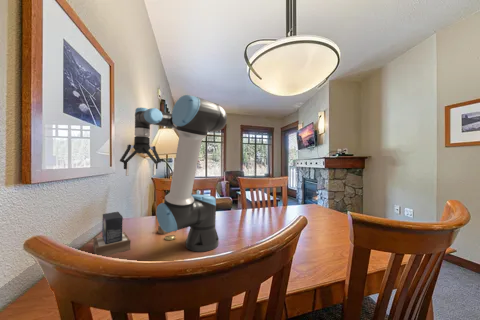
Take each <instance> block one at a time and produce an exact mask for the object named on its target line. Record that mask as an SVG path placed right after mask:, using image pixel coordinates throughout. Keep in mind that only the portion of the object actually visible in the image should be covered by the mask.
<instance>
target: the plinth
mask: <svg viewBox="0 0 480 320" xmlns="http://www.w3.org/2000/svg"><path fill="white" fill-rule="evenodd" d="M131 241H132V240H131V239H130V237H129V236H128V235H127V233H126V232H122V241H119V242H114V243H110V244H105V242H104V239H103V237H102V236H100V237H95V238H93V241H92V242H93V244H92V245H93V246H92V248H93V253H94V255H95V254H97V255H102V256H104V257H107V256H110V255H115V254H118V253H122V252H126V251H130V250H131Z"/></svg>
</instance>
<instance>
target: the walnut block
mask: <svg viewBox="0 0 480 320" xmlns="http://www.w3.org/2000/svg"><path fill="white" fill-rule="evenodd" d="M157 226H158V227H157V233H158V234H161V235H164V236H166V235H168V234H170V233H171V232H165V231H163V230H162V229H161V227H160V225H159V224H158V225H157Z"/></svg>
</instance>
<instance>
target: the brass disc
mask: <svg viewBox="0 0 480 320" xmlns="http://www.w3.org/2000/svg"><path fill="white" fill-rule="evenodd" d="M176 236H177V235H176V234H175V235H174V234H172V235H171V234H169V235H165V237H164V240H165V241H172V240H175V239H176Z"/></svg>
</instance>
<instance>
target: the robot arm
mask: <svg viewBox="0 0 480 320" xmlns="http://www.w3.org/2000/svg"><path fill="white" fill-rule="evenodd" d="M227 121H228V116H227V112H226V110H225V108H224V107H222V106H221V105H220V104H219V103H215V102H212V101H209V100H206V99H204V98H201V97H198V96H196V95H195V96H193V95H190V94H185V95H181V96H180V97H179V98H178V99H177V100H176V102H175V103H174V105H173V109H172V112H171V113H169V112H165V111H161V110H159V109H158V108H156V107H151V108H146V107H137V108H135V110H134V142H133V145H132V144H130V143H129V144H127V146H126V150H124V153H123V154H122V156H121V157H120V159H119V162H121V163H123V169H124V170H125V176H129V170H130V166H129V165H130V163H129V161H131V159H132V158H133V157H135V155H137V154H142V155H143V154H146V155H147V156H148V157H149V158H150V159H151V161H152V162H153V163H152V176H156V174H157V173H156V172H157V170H158V167H159V166H158V164H159V163H161V162H162V159H160V156H159V154H158V152H157V147H156V146H154V145H153V146H151V145H150V144H151V143H150V139H151V125H153V126H154V125H155V126H161V127H167V128H172V129H175V130H176V132H177V133H178V135H179V136H178V142H177V149H176V152H175V153H176V154H175V159H174V167H173V170H172V178H171V183H170V189H169V192H168V193H167V194H166V195H165V196H164V201H163V202H161V203H159V204H158V205H157V206H156V211H155V213H156V220H157V222H158V226H159V225H160V227H161V229H162V230H163V231H165V232H170V233H172V232H177V231H179V230H183V229H186V228H189V231H188V234H187V237H186V240H185V247H186V249H188V250H189V251H193V252H197V253H198V252H200V253H201V252H209V251H211V250H214V249H216V248H217V247H218V246H219V244H220V243H219V240H220V239H219V236H218V232H217V229H216V213H217V202H216V201H217V200H216V198H215V196H213V195H209V194H208V195H207V194H198V193H197V194H192V193H193V187H194V183H195V179H196V172H197V167H198V161H199V157H200V152H201V146H202V141H203V140H204V138H206V137H207V135H208V132H212V133H213V132H220V131H221V130H223V129H224V128H225V127H226V124H227ZM132 149H134V151H133V152H132V153H131V154H130V155H129V156H128V154H129V152H130V150H132ZM150 150H151V151H152V153H153V154H152V153H151V152H150ZM153 155H154V156H153ZM127 156H128V157H127ZM126 157H127V158H126Z"/></svg>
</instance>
